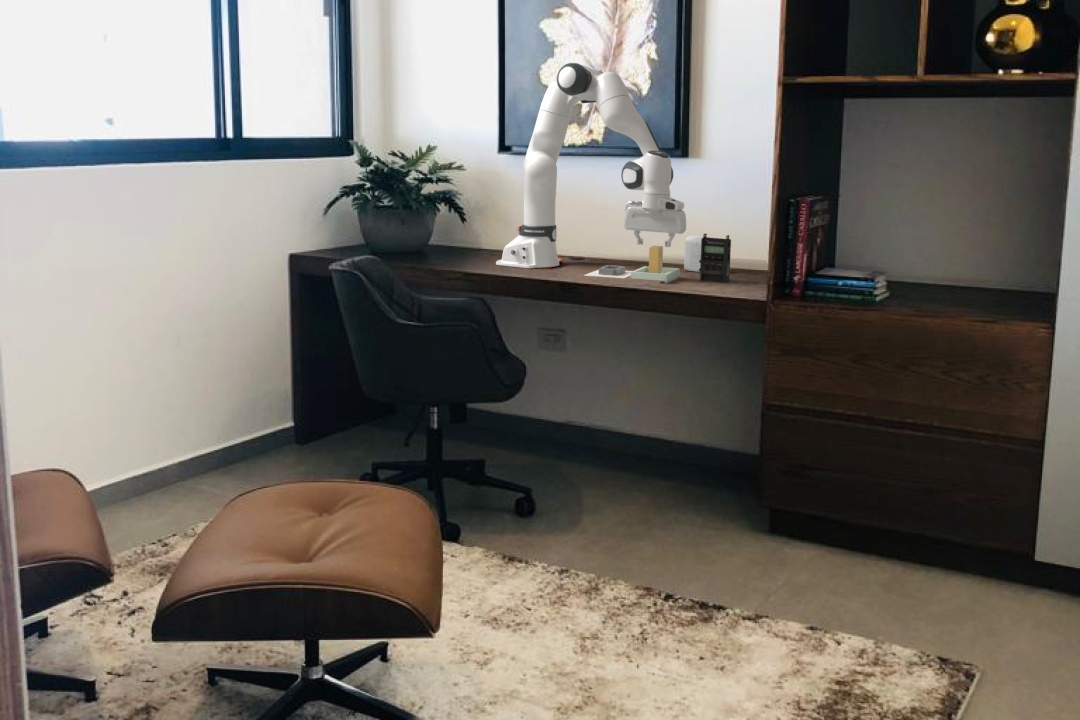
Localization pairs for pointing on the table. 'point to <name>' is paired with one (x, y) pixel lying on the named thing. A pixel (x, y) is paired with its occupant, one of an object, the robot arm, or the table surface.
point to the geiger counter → (715, 259)
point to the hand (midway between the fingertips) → (653, 245)
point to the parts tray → (656, 274)
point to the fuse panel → (611, 272)
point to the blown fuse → (655, 259)
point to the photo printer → (693, 253)
